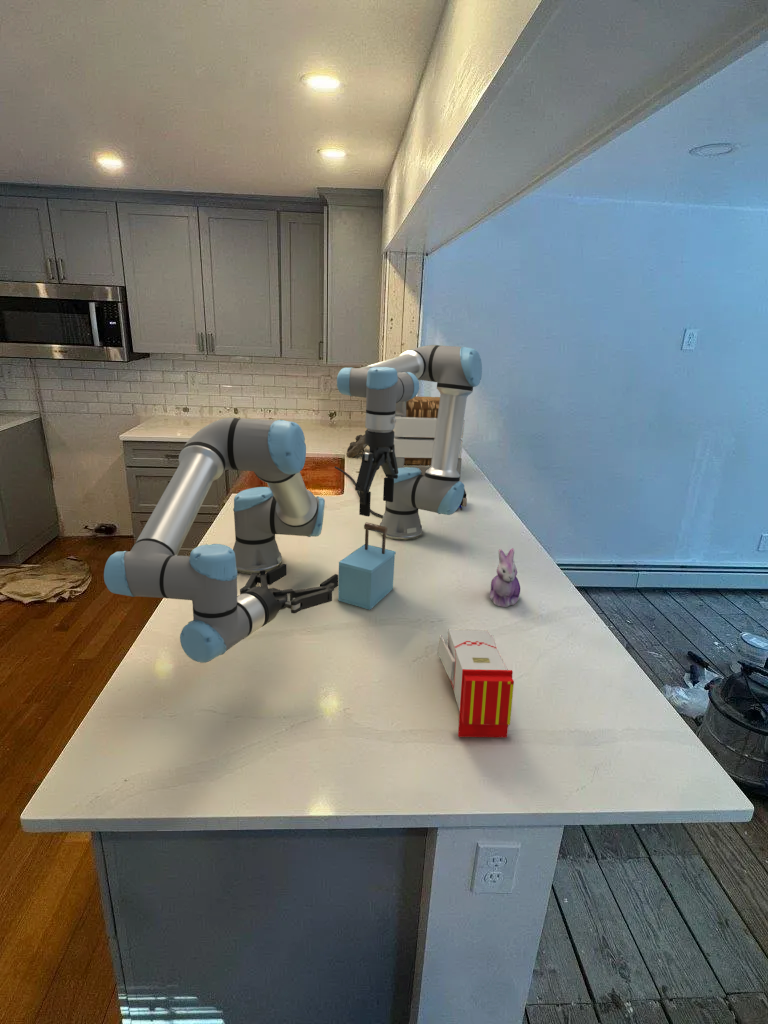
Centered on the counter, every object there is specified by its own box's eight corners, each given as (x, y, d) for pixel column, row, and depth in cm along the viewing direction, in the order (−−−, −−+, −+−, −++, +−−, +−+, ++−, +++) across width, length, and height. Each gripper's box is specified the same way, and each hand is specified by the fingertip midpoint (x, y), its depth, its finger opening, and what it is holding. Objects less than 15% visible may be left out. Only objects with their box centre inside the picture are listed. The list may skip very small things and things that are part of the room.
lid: (364, 546, 161) (365, 517, 158) (395, 554, 157) (397, 524, 154) (338, 564, 149) (339, 533, 146) (371, 573, 145) (372, 541, 142)
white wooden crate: (382, 463, 289) (386, 382, 275) (445, 464, 293) (451, 384, 279) (390, 482, 257) (394, 392, 243) (460, 483, 261) (468, 394, 247)
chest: (362, 580, 165) (363, 547, 161) (393, 589, 161) (394, 554, 157) (338, 600, 153) (338, 565, 149) (369, 610, 149) (371, 573, 145)
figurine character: (467, 515, 225) (461, 499, 238) (469, 498, 221) (463, 482, 235) (450, 514, 224) (445, 498, 238) (452, 497, 221) (447, 482, 234)
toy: (488, 613, 130) (523, 677, 101) (484, 667, 133) (517, 744, 104) (435, 612, 130) (455, 676, 101) (432, 666, 133) (451, 743, 103)
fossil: (346, 440, 316) (367, 425, 311) (357, 453, 319) (378, 438, 314) (340, 453, 296) (362, 438, 291) (351, 468, 299) (374, 452, 294)
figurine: (502, 611, 151) (509, 560, 146) (479, 594, 159) (485, 545, 154) (530, 604, 155) (537, 554, 150) (506, 588, 163) (512, 540, 158)
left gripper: (202, 615, 115) (265, 580, 134) (306, 643, 105) (359, 600, 124) (199, 581, 113) (264, 550, 132) (305, 605, 103) (359, 568, 122)
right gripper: (369, 440, 133) (366, 524, 140) (413, 424, 154) (408, 498, 161) (342, 436, 136) (340, 518, 143) (388, 420, 157) (385, 493, 164)
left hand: (310, 574), depth 128 cm, fingers open, 13 cm apart
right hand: (376, 508), depth 152 cm, fingers open, 13 cm apart
